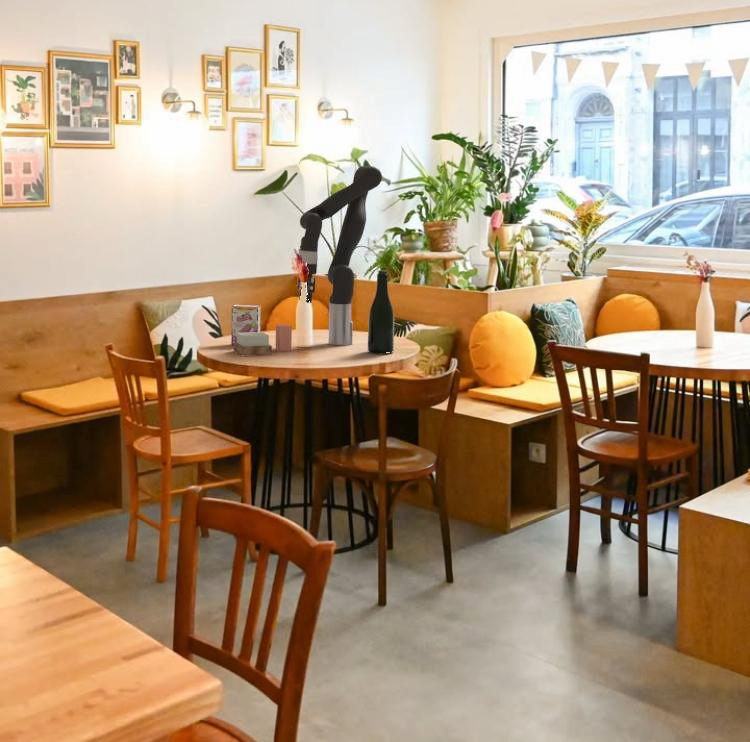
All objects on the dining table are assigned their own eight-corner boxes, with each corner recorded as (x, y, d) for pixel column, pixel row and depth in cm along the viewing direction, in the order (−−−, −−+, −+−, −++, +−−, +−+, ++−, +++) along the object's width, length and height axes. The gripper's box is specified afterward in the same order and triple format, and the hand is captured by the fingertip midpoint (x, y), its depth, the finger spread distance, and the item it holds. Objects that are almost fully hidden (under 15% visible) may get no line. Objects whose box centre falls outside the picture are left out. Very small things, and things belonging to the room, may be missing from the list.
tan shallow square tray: (262, 351, 431) (262, 341, 430) (271, 356, 420) (271, 346, 419) (233, 352, 426) (233, 342, 425) (242, 357, 415) (242, 347, 414)
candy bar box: (231, 345, 440) (231, 305, 437) (233, 343, 445) (233, 304, 442) (257, 346, 439) (258, 306, 436) (260, 344, 444) (260, 305, 441)
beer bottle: (376, 355, 425) (379, 271, 419) (362, 351, 434) (364, 269, 428) (398, 353, 431) (401, 271, 425) (384, 349, 439) (386, 268, 434)
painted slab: (261, 341, 429) (261, 331, 428) (268, 345, 420) (268, 335, 419) (236, 342, 425) (236, 332, 424) (244, 346, 416) (244, 336, 415)
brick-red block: (287, 349, 435) (287, 324, 433) (291, 350, 430) (291, 326, 429) (275, 349, 433) (275, 324, 431) (279, 351, 428) (279, 326, 427)
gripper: (322, 264, 433) (319, 304, 435) (310, 261, 446) (308, 300, 448) (305, 263, 430) (302, 303, 432) (293, 260, 443) (290, 299, 445)
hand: (305, 301), depth 440 cm, fingers open, 8 cm apart
